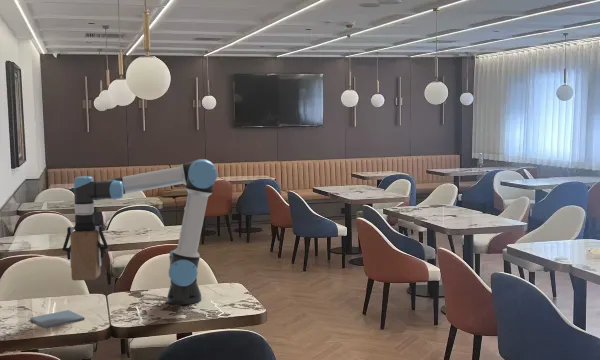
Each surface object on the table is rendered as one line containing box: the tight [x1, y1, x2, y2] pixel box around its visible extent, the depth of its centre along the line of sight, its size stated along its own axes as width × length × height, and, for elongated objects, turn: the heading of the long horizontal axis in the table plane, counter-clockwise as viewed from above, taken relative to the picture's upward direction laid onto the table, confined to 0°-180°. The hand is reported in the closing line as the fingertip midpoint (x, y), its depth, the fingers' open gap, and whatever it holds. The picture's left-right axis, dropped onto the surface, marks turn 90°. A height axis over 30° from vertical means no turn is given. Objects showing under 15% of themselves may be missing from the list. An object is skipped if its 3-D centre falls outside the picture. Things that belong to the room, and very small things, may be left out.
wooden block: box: [69, 229, 102, 281], centre depth 276 cm, size 10×10×20 cm
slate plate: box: [29, 309, 86, 329], centre depth 271 cm, size 16×16×1 cm
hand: (86, 266), depth 276 cm, fingers closed on wooden block, 10 cm apart
